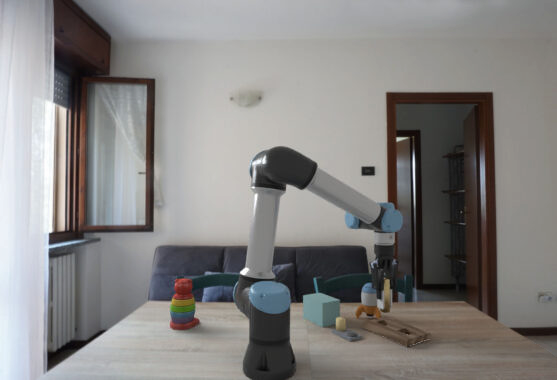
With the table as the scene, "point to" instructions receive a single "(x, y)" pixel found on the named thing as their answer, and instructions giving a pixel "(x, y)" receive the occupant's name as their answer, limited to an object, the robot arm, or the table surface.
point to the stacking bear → (183, 306)
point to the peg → (386, 295)
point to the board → (396, 331)
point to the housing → (321, 309)
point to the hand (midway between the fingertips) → (384, 306)
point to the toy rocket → (368, 302)
